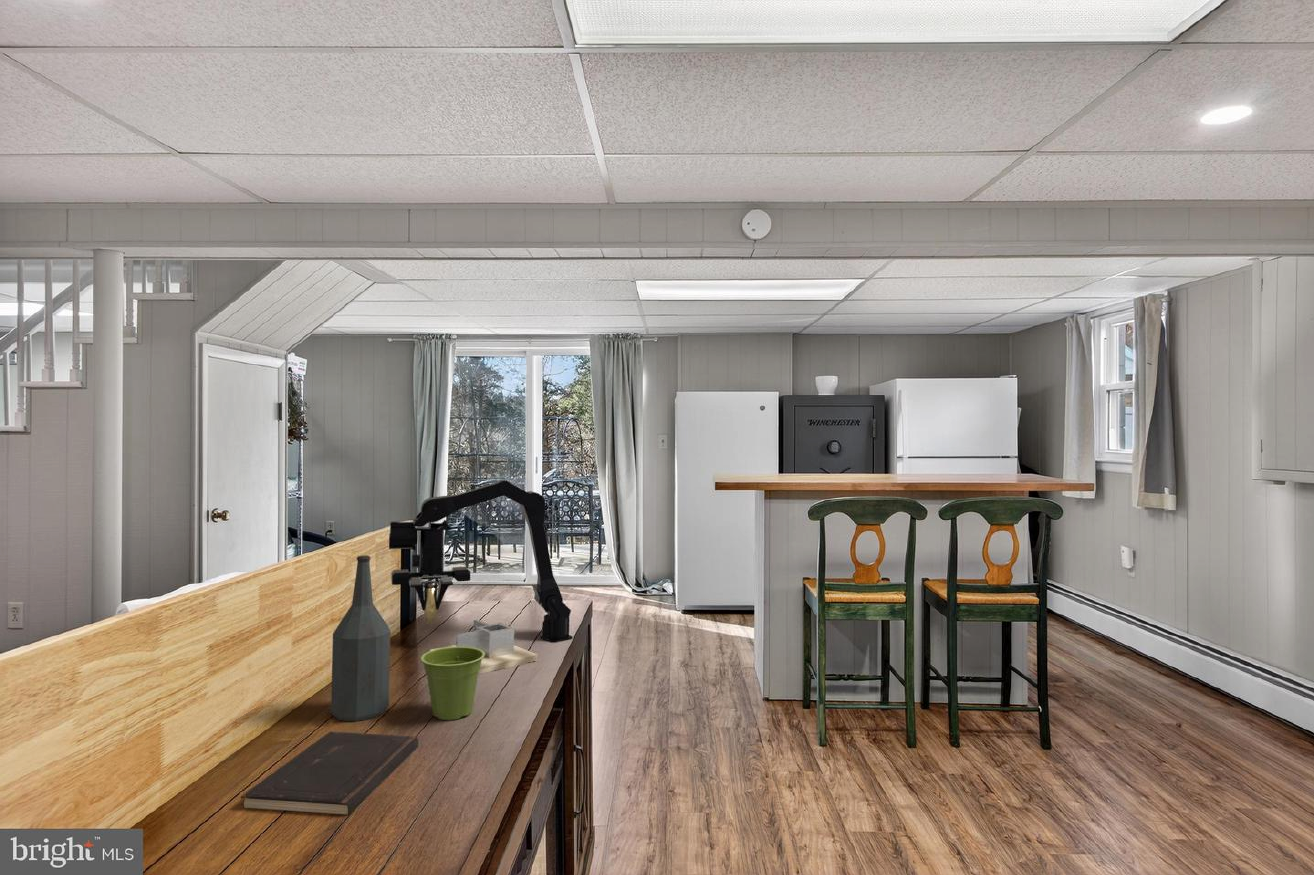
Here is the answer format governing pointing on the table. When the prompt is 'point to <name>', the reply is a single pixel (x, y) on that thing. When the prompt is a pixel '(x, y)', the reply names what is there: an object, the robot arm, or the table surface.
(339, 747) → the hardcover book
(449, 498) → the robot arm
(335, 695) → the bottle
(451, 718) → the plant pot
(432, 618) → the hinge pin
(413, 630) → the table surface
